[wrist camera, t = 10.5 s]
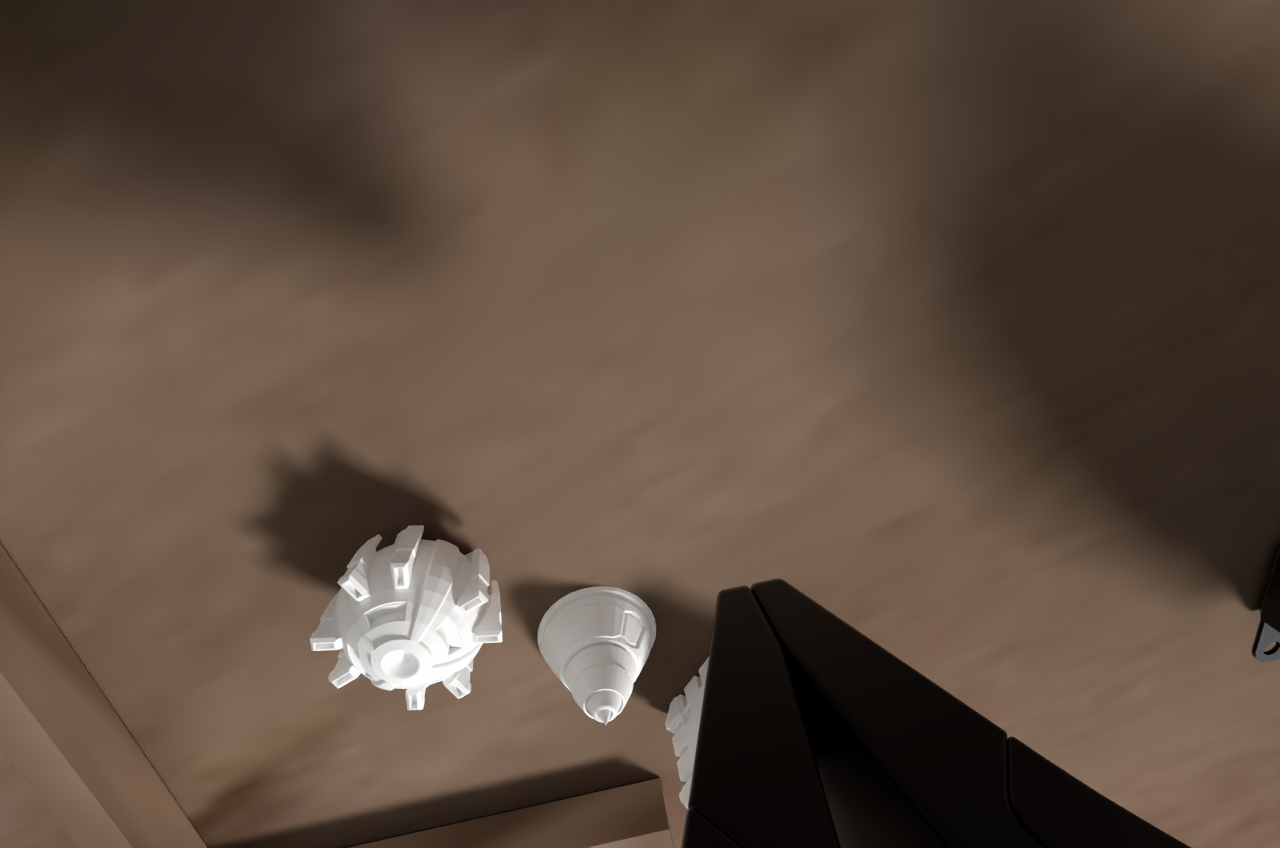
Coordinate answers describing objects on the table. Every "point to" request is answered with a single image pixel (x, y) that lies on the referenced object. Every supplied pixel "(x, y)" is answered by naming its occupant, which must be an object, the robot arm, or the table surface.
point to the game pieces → (488, 633)
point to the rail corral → (147, 812)
